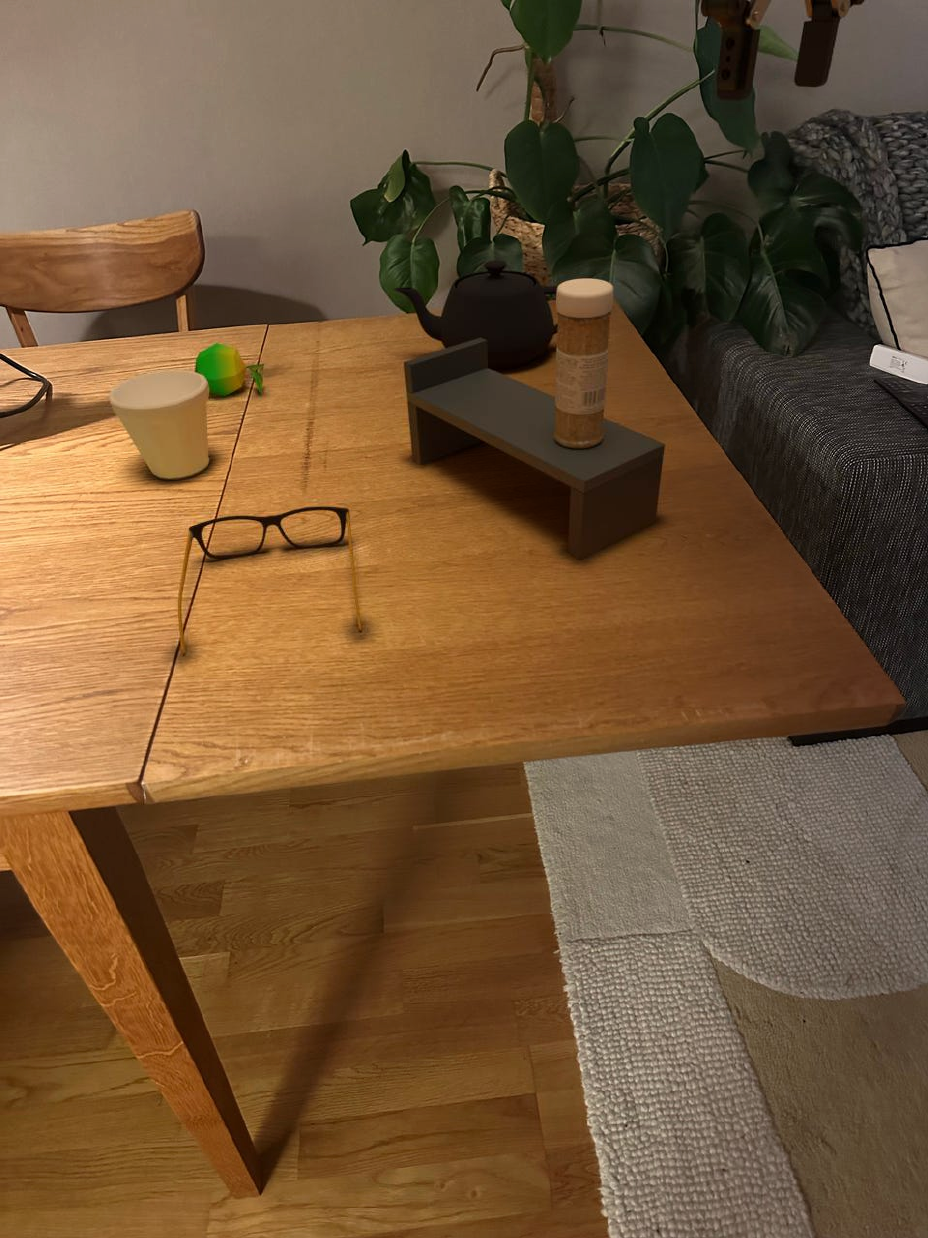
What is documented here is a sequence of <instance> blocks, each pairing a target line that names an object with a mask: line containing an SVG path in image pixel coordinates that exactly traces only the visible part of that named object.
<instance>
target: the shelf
mask: <svg viewBox="0 0 928 1238" xmlns="http://www.w3.org/2000/svg"><path fill="white" fill-rule="evenodd" d="M403 371H404V382H405V383H404V384H405V392H406V404H407V406H406V407H407V416H408V426H409V437H410V438H409V439H410V449H411V460H412V461H413V462H415V463H416V464H418V465H419V466H422V465H425V464H427V463H430V462H432V461H435V460H437V459H440V458H442V457H445V456H447V455H450V454H452V453H455V452H458V451H461V450H462V449H465V448H468V447H470V446H473V445H475V444H476V445H477V443H480V442H485V443H487V444H488V445H491V446H493V448H496V449H498V450H500V451H502V452H504V453H506V454H507V455H510V456H511V457H513V458H515V459H517V460H519V461H521V462H523V463H525V464H526V465H528V466H531V467H533V468H534V469H536V470H538V471H540V472H542V473H544V474H546V475H547V476H550V477H552V478H554V479H556V480H557V481H559V482H561V483H563V484H565V485H567V486H569V487H570V500H569V501H570V502H569V520H568V521H569V522H568V541H567V543H568V544H567V554H568V555H570V556H572V557H574V558H576V559H577V560H579V561H581V560H584V559H586V558H588V557H590V556H592V555H593V554H595V553H597V552H599V551H601V550H602V549H603V550H604V549H605V548H607V547H609V546H611V545H613V544H614V543H616V542H619V541H620V540H622V539H624V538H626V537H629V536H630V535H632V534H634V533H636V532H637V531H639V530H641V529H644V528H645V527H647V526H649V525H651V524H653V523H654V522H656V520H657V512H658V505H659V496H660V490H661V488H660V487H661V480H662V473H663V465H664V457H665V450H666V449H665V448H666V444H665V443H664V442H661V441H659V440H657V439H654V438H652V437H649V436H648V435H645V434H642V433H640V432H637V431H636V430H634V429H630V428H628V427H626V426H623V425H622V424H619V423H617V422H615V421H612V420H610V419H607V418H605V417H603V433H604V436H603V439H602V441H601V442H600V443H598V444H596V445H594V446H592V447H589V448H571V447H566V446H563V445H561V444H559V443H558V442H557V441H556V440H555V439H554V431H555V410H556V405H555V395H552V394H549V393H547V392H545V391H542V390H540V389H538V388H535V387H533V386H531V385H529V384H526V383H523V382H521V381H519V380H517V379H514V378H513V377H509V376H508V375H506V374H503V373H500V372H498V371H497V370H496V371H495V370H494V369H490V368H488V357H487V340H485V339H482V338H478V339H474V340H471V341H468V342H465V343H462V344H459V345H456V346H452V347H449V348H443V349H440V350H437V351H433V352H431V353H428V354H424V355H422V356H418V357H415V358H412V359H409V360H406V361H405V360H404V361H403Z"/></svg>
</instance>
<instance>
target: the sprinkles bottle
mask: <svg viewBox="0 0 928 1238" xmlns="http://www.w3.org/2000/svg"><path fill="white" fill-rule="evenodd" d="M557 286H558V287H557V293H556V294H555V295H556V296H555V311H557V312H556V316H557V323H558V333H557V338H556V350H555V382H554V383H555V385H554V397H555V405H556V410H555V431H554V439H555V440H556V441H557V442H558V443H559V444H561V445H563V446H566V447H571V448H589V447H592V446H594V445H596V444H598V443H600V442H601V441H602V439H603V436H604V433H603V418H604V412H605V406H606V397H607V385H608V384H607V383H608V371H609V369H608V368H609V355H610V354H609V353H610V348H609V338H610V337H609V336H610V319H611V314H612V311H613V308H614V285H613V284H612V283H610V282H608V281H606V280H603V279H599V278H574V279H569V280H565V281H563V282H561V283H560V284H558V285H557Z"/></svg>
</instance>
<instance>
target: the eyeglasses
mask: <svg viewBox="0 0 928 1238" xmlns="http://www.w3.org/2000/svg"><path fill="white" fill-rule="evenodd" d="M314 511H330V512H334V513H335V514H336V515H337V517H338V518H339V522H340V528H341V529H340V536H339V538H338V539H337V540H334V541H331V542H325V543H319V544H312V545H311V544H309V545H306V544H305V545H304V544H297V543H295V542H293V541H292V540H291V539H290V537H288V535H287V533H286V532H285V530H284V529H283V527H282V520H284V519H285V518H287V517H289V516H292V515H295V514H300V513H305V512H314ZM350 517H351V515H350V510H349V508H347V507H338V506H323V505H322V506H306V507H301V508H295V509H292V510H289V511H286V512H284V513H279V514H275V515H267V516H257V515H256V516H255V515H230V516H222V517H217V518H213V519H210V520H206V521H203V522H200V523H199V522H198V523H197V524H193V525H190V526H189V527H188V533H187V539H186V544H185V551H184V557H183V563H182V570H181V575H180V582H179V588H178V597H177V619H178V631H179V641H180V642H179V643H180V651H181V653H182V654H186V644H185V637H184V626H183V615H182V614H183V613H182V601H183V592H184V587H185V581H186V575H187V570H188V564H189V560H190V554H191V551H192V545H193V540H194V539H195V540H196V542H197V543H198V544H199V546H200V548H201V550H202V552H203V553H204V554H205V555H206V556H207V557H208V558H210V559H213V560H224V559H225V560H226V559H236V558H237V559H238V558H244V557H249V556H252V555H256V554H258V553H259V552H260V551H261V550H262V548H263V545H264V542H265V538H266V534H267V530H268V527H270V526H276V527H277V529H278V530H279V532H280V534H281V535H282V537H283V538H284V539H285V541H286V542H287V543H288V544H289V545H290V546H292V547H293V548H296V549H301V550H309V549H319V548H326V547H331V546H336V545H339V544H341V542H342V541H343V540H344V538H345V534H346V529H347V535H348V545H349V556H350V568H351V577H352V588H353V596H354V604H355V610H356V611H355V612H356V619H357V627H358V630H359V631H362V622H361V621H362V620H361V615H360V608H359V607H360V606H359V597H358V589H357V581H356V573H355V562H354V552H353V551H354V550H353V541H352V530H351V520H350ZM239 520H244V521H245V520H246V521H252V522H253V521H254V522H258V523H260V524H261V525H262V537H261V541H260V544H259V546H258V547H257V548H256V549H254V550H251V551H248V552H243V553H236V554H235V553H234V554H222V555H220V554H219V555H217V554H213V553H211V552H209V550H208V549H207V547H206V545H205V543H204V539H203V538H204V537H203V531H204V529H205V528H206V527H207V526H210V525H212V524H217V523H220V522H221V523H222V522H227V521H239ZM346 527H347V528H346Z"/></svg>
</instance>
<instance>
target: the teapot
mask: <svg viewBox="0 0 928 1238" xmlns="http://www.w3.org/2000/svg"><path fill="white" fill-rule="evenodd" d="M506 267H507V263H506V262H505V261H504V260H499V259H496V260H489V261H486V262H484V268H485V269H486V270H483V271H478V272H472V273H469V274H465V275H462V276H460V277H458V278H457V279H455V280H454V281H453V282H452V284H451V287H450V289H449V292H448V294H447V297H446V299H445V302H444V304H443V308H442V311H441V315H440V316H439V315H435V314H433V313H431V311H429V309H428V308H427V306H426V304H425V301H424V298H423V296H422V295H421V293H420V292H419V291H418V289H415V288H414V287H408V286H407V287H405V286H404V287H402V286H401V287H394V288H393V290H394V291H395V292H398V293H401V294H403V295H404V296H405V297H406V298H408V299H409V301H410V303H411V304H412V306H413V309H414V311H415V313H416V316H417V319H418V322H419V325H420V326H421V329H422V330H423V331H424V333H426V335H428V336H429V337H430V338H431V339H434V340H435V341H438V342H441V344H442V346H443V348H444V349H446V348H449V347H452V346H456V345H459V344H462V343H465V342H468V341H471V340H474V339H478V338H482V339H485V340H487V357H488V368H489V369H491V370H495V369H497V370H498V369H507V368H508V369H509V368H514V367H518V366H522V365H525V364H528V363H530V362H532V361H534V360H535V359H537V357H538V356H539V355H540V354H541V353H542V352H544V351H545V349H546V348H547V347H548V346H549V345H550V343H551V342H552V340H553V337H554V335H556V334H558V322H557V323H555V321H554V317H553V313H552V309H551V306H550V304H549V301H548V299H547V296H546V295H556V293H557V287H558V286H559V285H549V286H546V285H545V286H542V284H541V282H540V280H539V279H538V277H536V276H534V275H533V274H530V273H526V272H523V271H517V270H504V269H506Z"/></svg>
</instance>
